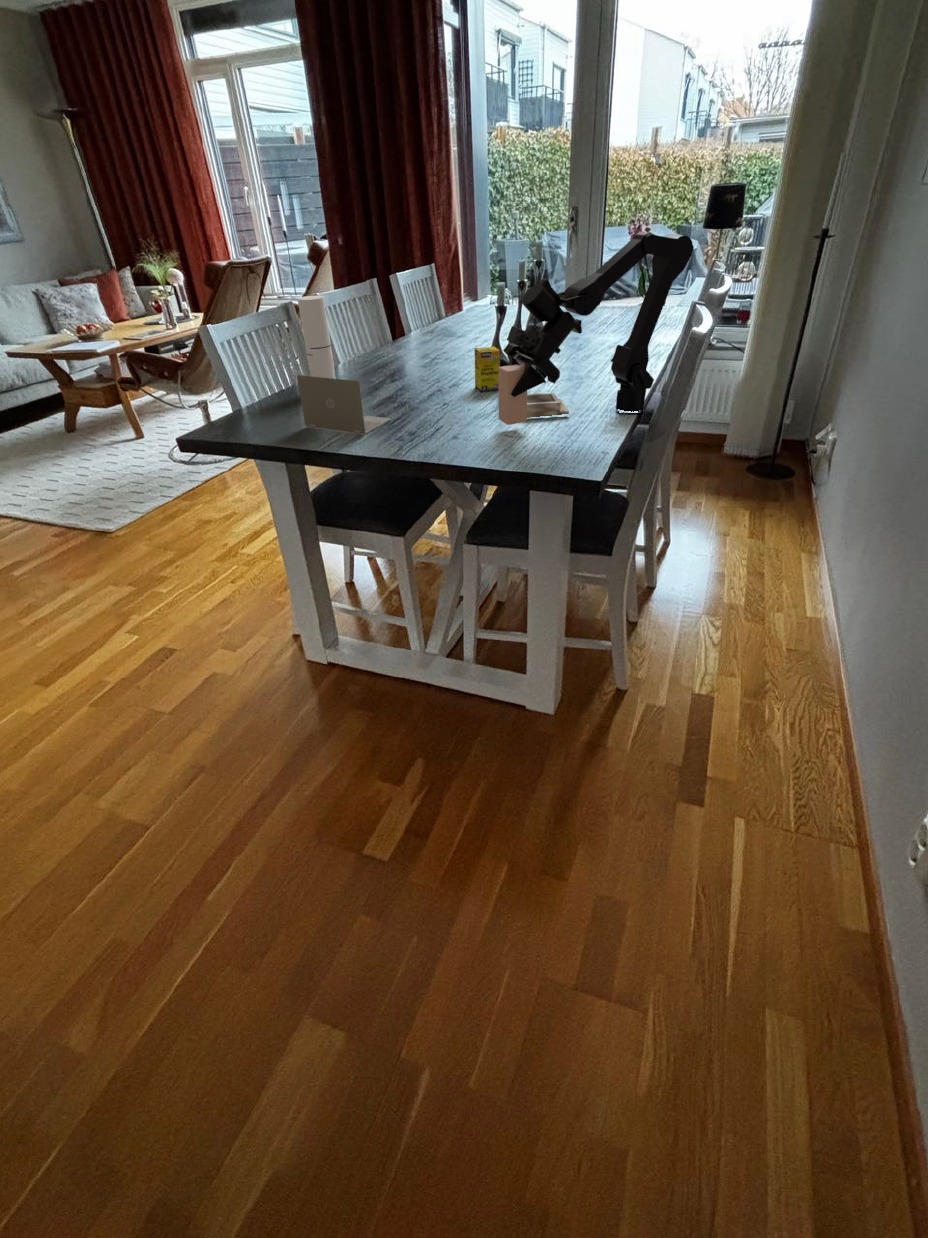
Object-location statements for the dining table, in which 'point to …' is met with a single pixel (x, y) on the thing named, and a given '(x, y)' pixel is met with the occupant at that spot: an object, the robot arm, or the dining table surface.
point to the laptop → (335, 406)
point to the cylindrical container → (316, 336)
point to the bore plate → (545, 405)
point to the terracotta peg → (509, 406)
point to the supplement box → (487, 368)
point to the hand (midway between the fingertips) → (507, 392)
